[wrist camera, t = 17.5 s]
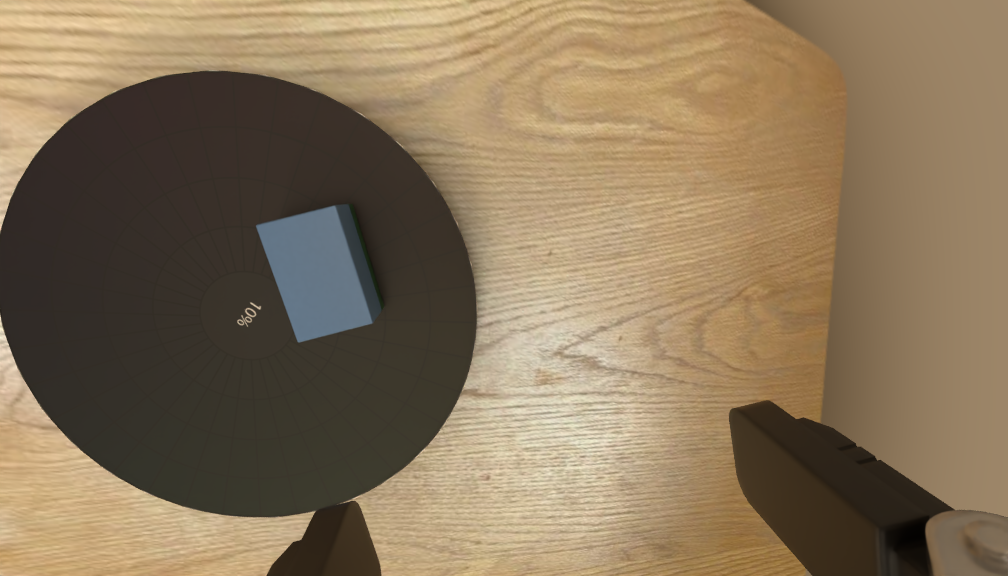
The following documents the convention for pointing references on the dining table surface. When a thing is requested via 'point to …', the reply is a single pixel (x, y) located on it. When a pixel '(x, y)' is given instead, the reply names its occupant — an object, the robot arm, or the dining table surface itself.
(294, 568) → the robot arm
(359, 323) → the sponge
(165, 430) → the disc
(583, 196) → the dining table surface
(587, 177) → the dining table surface
